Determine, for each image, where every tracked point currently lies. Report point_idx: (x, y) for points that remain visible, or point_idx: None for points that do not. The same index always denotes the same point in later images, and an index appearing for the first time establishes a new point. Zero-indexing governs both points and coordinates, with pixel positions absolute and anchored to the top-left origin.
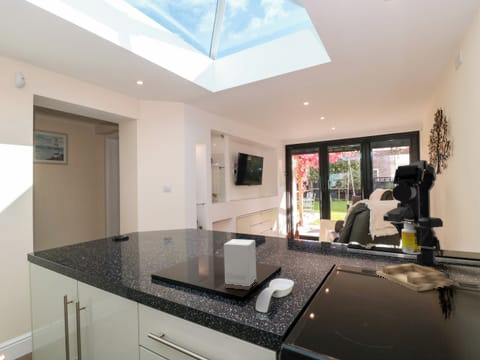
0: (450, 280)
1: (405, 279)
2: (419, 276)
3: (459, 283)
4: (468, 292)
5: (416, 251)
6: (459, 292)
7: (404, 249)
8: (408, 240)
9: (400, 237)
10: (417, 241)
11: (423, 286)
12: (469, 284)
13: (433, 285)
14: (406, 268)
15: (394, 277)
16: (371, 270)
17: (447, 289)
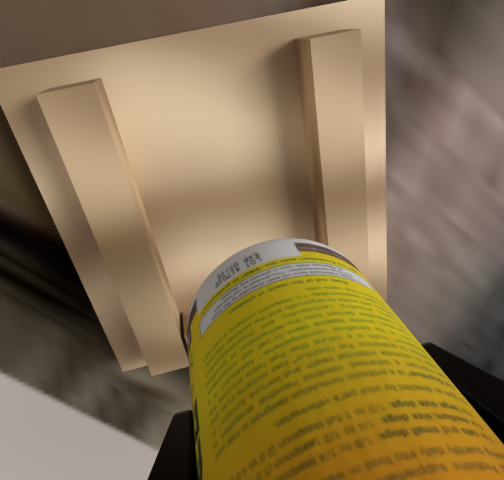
0: (129, 362)
1: (156, 103)
2: (80, 180)
3: (153, 392)
4: (23, 358)
5: (188, 336)
6: (18, 319)
7: (281, 252)
8: (256, 378)
9: (490, 376)
10: (178, 464)
11: (20, 145)
12: (137, 420)
13: (63, 233)
14: (321, 237)
15: (210, 43)
16: (460, 31)
17: (62, 291)
